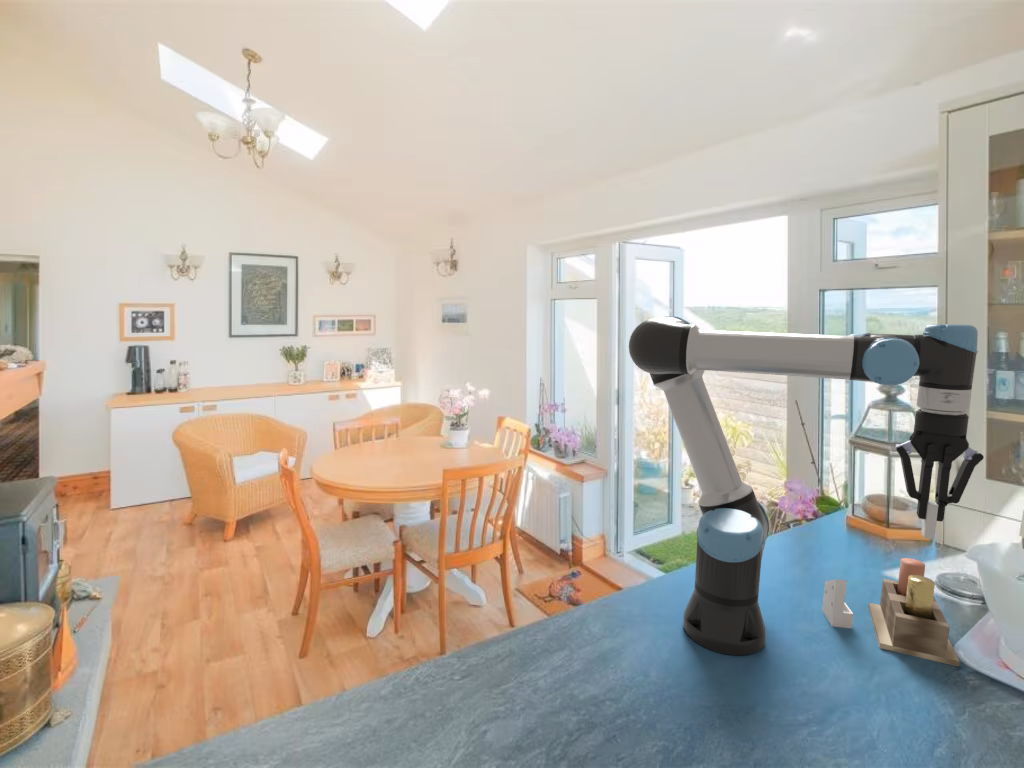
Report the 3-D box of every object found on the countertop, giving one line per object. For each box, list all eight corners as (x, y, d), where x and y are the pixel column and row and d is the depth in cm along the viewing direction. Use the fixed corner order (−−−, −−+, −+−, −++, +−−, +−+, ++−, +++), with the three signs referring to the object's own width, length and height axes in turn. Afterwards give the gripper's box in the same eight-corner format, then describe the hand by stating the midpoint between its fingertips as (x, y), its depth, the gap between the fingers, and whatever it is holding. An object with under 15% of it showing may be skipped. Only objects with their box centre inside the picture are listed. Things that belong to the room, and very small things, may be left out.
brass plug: (905, 622, 104) (910, 582, 103) (902, 612, 107) (906, 573, 106) (932, 628, 102) (937, 587, 101) (927, 617, 106) (932, 577, 104)
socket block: (879, 647, 105) (883, 613, 104) (868, 607, 119) (871, 576, 118) (958, 666, 99) (963, 630, 98) (937, 621, 113) (941, 589, 112)
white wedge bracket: (841, 626, 107) (836, 579, 110) (823, 625, 116) (819, 581, 119) (862, 629, 106) (856, 581, 109) (842, 627, 115) (838, 583, 119)
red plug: (898, 602, 111) (902, 564, 110) (894, 593, 114) (899, 556, 113) (922, 607, 109) (927, 568, 108) (918, 597, 113) (922, 560, 112)
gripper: (901, 411, 98) (888, 537, 102) (995, 417, 93) (978, 551, 96) (894, 404, 105) (882, 522, 108) (981, 410, 99) (966, 535, 103)
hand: (927, 536), depth 102 cm, fingers closed
